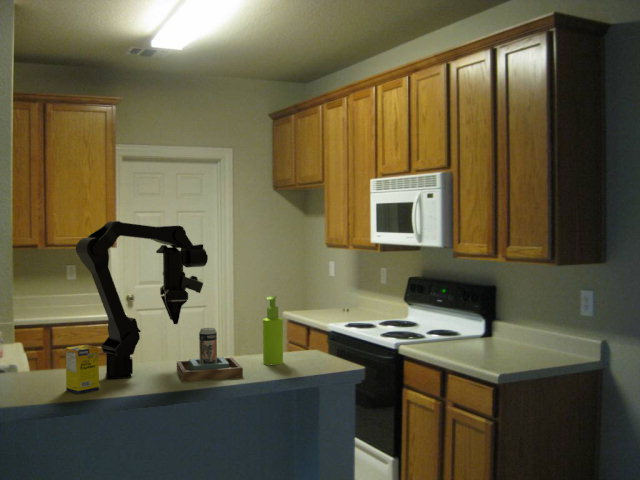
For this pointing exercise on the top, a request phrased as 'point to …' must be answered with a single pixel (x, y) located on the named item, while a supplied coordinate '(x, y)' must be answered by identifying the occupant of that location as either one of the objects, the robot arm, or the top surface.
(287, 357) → the top surface
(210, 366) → the bore plate
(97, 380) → the supplement box
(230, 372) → the walnut box
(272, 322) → the soap dispenser
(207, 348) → the beer can
